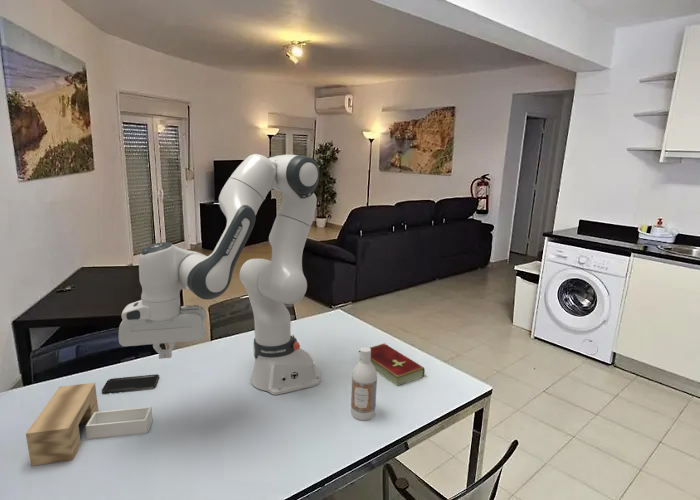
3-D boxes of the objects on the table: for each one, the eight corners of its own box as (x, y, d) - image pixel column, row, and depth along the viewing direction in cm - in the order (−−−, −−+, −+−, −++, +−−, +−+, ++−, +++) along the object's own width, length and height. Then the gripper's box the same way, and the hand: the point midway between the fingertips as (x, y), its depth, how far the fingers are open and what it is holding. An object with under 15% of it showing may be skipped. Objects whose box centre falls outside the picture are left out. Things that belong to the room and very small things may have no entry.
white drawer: (152, 419, 115) (151, 406, 114) (147, 433, 109) (146, 420, 108) (96, 425, 112) (94, 411, 111) (87, 440, 106) (85, 426, 105)
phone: (108, 378, 132) (159, 373, 136) (108, 382, 133) (159, 377, 136) (100, 392, 125) (155, 386, 129) (100, 396, 125) (155, 390, 129)
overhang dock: (98, 410, 118) (95, 382, 116) (73, 459, 99) (68, 428, 97) (63, 414, 116) (59, 386, 114) (31, 465, 97) (25, 433, 95)
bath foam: (347, 418, 118) (349, 352, 113) (354, 404, 124) (357, 341, 120) (371, 423, 116) (374, 356, 111) (377, 409, 122) (380, 345, 118)
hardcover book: (384, 352, 158) (385, 342, 157) (424, 377, 141) (425, 366, 140) (358, 360, 151) (358, 350, 150) (396, 388, 134) (397, 376, 133)
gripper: (205, 300, 112) (208, 348, 115) (120, 305, 106) (125, 355, 110) (204, 308, 106) (207, 359, 109) (114, 314, 101) (119, 367, 104)
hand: (165, 357), depth 109 cm, fingers closed
